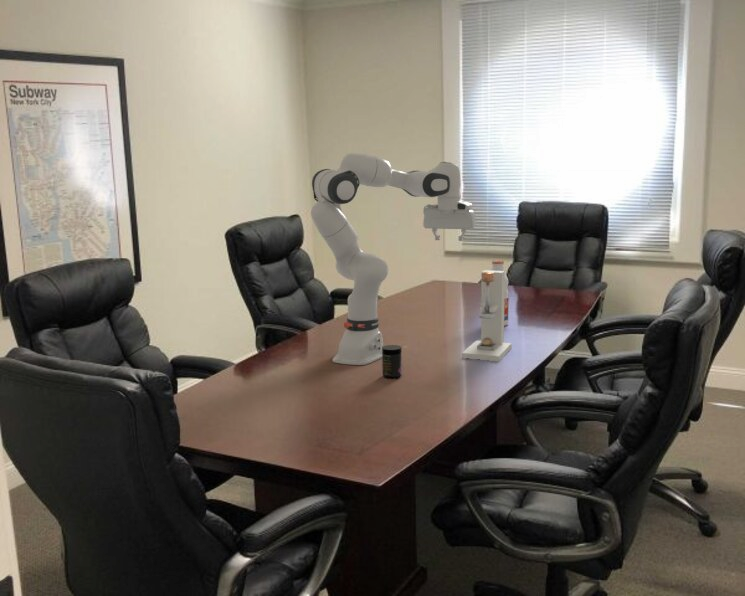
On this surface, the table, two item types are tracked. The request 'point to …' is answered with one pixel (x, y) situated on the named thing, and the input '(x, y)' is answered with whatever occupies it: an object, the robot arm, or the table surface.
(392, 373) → the supplement container
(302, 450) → the table surface
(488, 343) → the walnut
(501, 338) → the press frame
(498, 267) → the fruit juice
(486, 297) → the plunger
